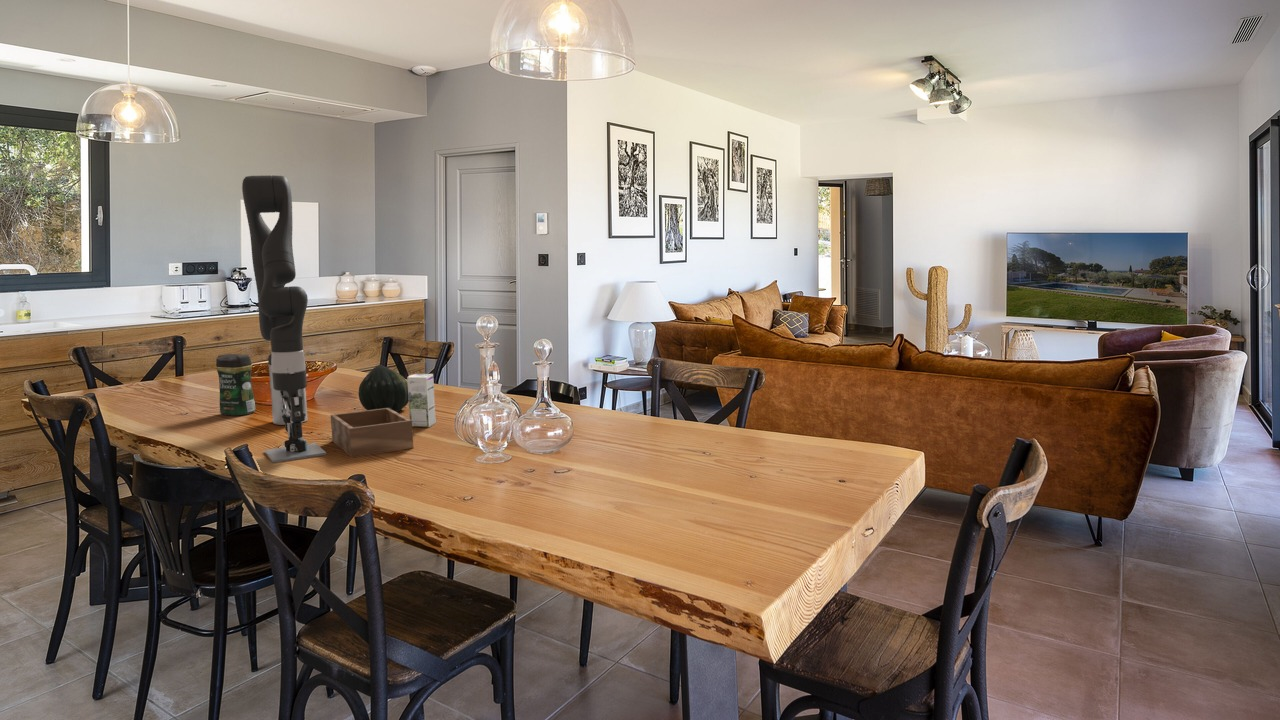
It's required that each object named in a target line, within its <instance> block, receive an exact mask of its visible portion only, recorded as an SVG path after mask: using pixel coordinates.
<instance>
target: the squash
mask: <svg viewBox="0 0 1280 720" xmlns="http://www.w3.org/2000/svg"><path fill="white" fill-rule="evenodd" d="M406 379H407V378H405V377H404V376H403V375H401V373H398V372H397V371H394V369H393V370H392V369H391V368H389V367H387V366H384V365H382V364H378V365H375V366H374V367H373V368H372V369H371V370H370V371H369V372H368V373H367V374H366V375H365V376H364V378H363V379H362V381H361V382H360V383H359V387H358V399H359V402H360V404H361V406H362V407H363V408H364V409H365V411H366V410H375V409H383V408H390V409H392V410H393V411H395V412H397V413H399V411H401V410H402V409H404V408H405V407H406V406H407V405H409V399H408V383H407V380H406Z"/></svg>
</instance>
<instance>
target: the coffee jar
mask: <svg viewBox="0 0 1280 720" xmlns="http://www.w3.org/2000/svg"><path fill="white" fill-rule="evenodd" d="M215 361H216V363H215V368H216V371H217V375H218V381H219V413H220V414H221V415H224V416H225V415H226V416H235V417H237V416H243V415H245V416H246V415H250V414H252V413H254V412H255V411H256V404H255V397H254V396H255V395H254V391H253V385H252V368H253V364H252V359H251V356H249V355H248V354H242V353H241V354H239V353H228V354H220V355H218V356H217V357H216V360H215Z"/></svg>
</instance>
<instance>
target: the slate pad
mask: <svg viewBox="0 0 1280 720" xmlns="http://www.w3.org/2000/svg"><path fill="white" fill-rule="evenodd" d="M306 445H307V450H306V451H303V452H291V451H286V449H284V448H283V447H276V448H270V449H264V453H265V455H266V456H267V457H268V458H269V460H270V461H271V462H272V464H274V463H275V464H276V463H281V462H288V461H293V460H294V461H296V460H302V459H303V460H304V459H307V458H308V459H309V458H314V457H323V456H327V452H326V450H324V449H323V448H322V447H321V446H320V445H319V444H317V442H313V443H306Z"/></svg>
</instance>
